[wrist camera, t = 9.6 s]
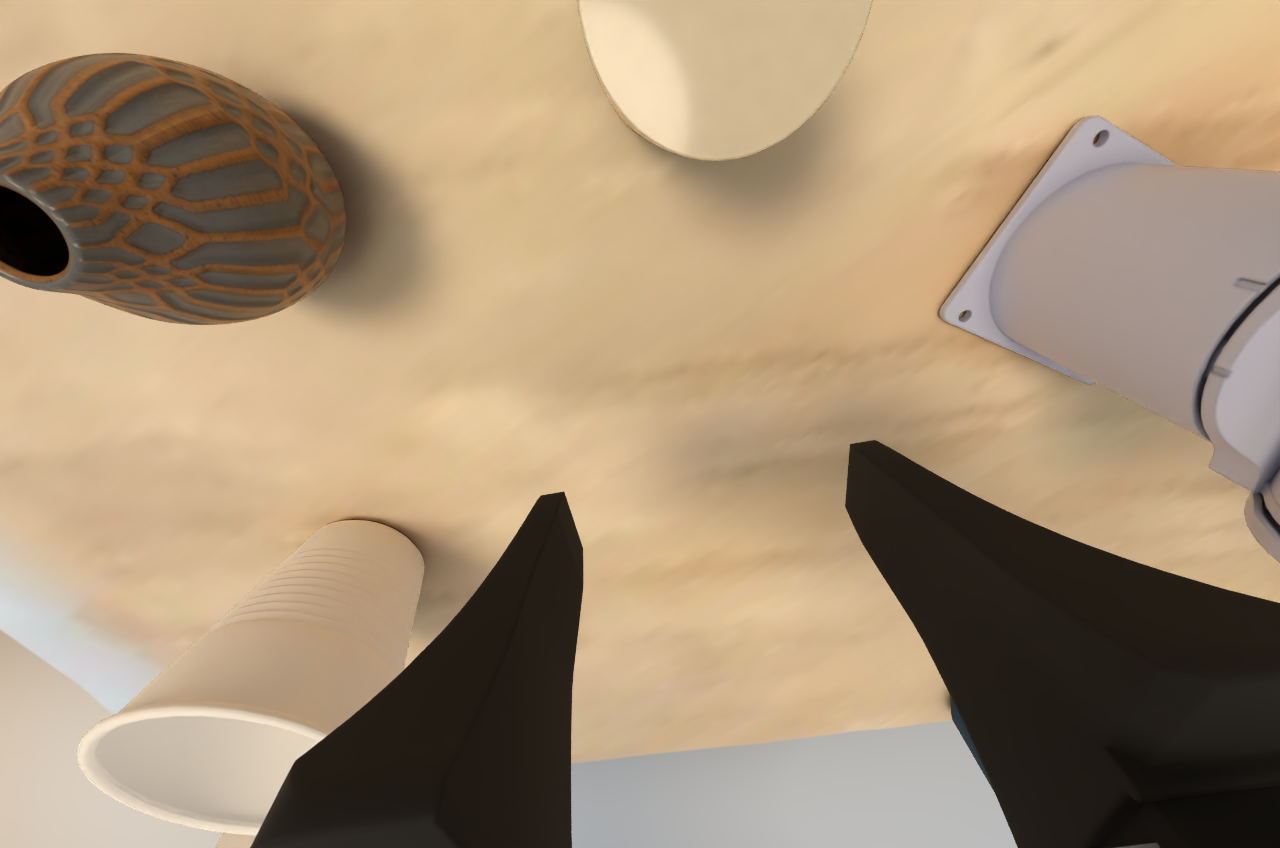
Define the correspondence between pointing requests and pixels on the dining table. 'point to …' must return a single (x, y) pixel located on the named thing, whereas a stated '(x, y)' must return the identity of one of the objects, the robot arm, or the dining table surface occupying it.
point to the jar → (720, 67)
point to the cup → (264, 683)
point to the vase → (162, 191)
